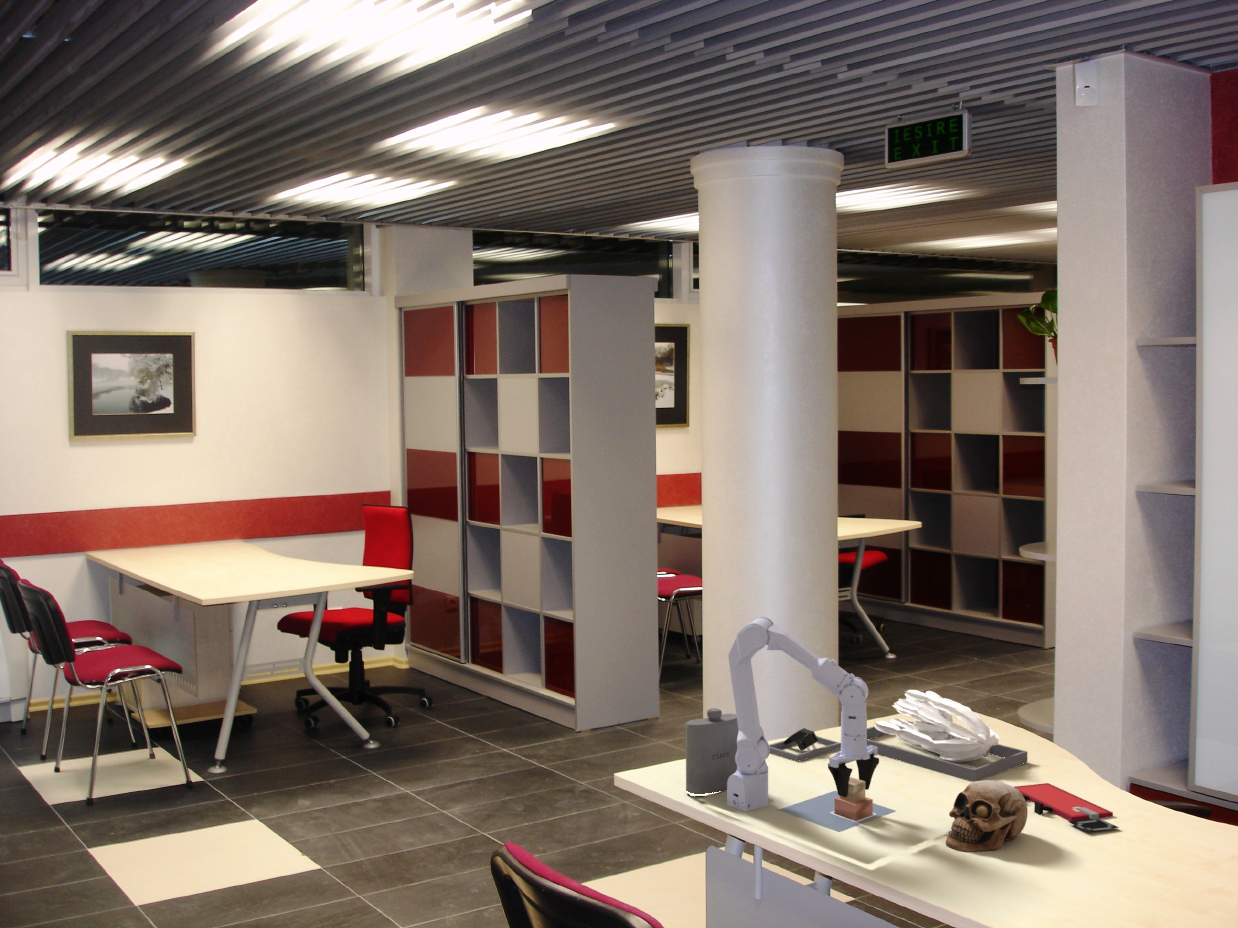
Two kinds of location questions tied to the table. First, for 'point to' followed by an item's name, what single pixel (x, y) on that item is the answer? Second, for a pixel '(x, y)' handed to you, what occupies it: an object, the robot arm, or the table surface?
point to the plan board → (829, 812)
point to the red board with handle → (1066, 806)
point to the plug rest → (830, 747)
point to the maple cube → (855, 790)
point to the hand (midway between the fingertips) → (853, 792)
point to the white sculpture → (940, 727)
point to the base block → (854, 808)
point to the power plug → (803, 739)
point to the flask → (710, 752)
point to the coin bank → (986, 816)
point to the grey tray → (1010, 761)
